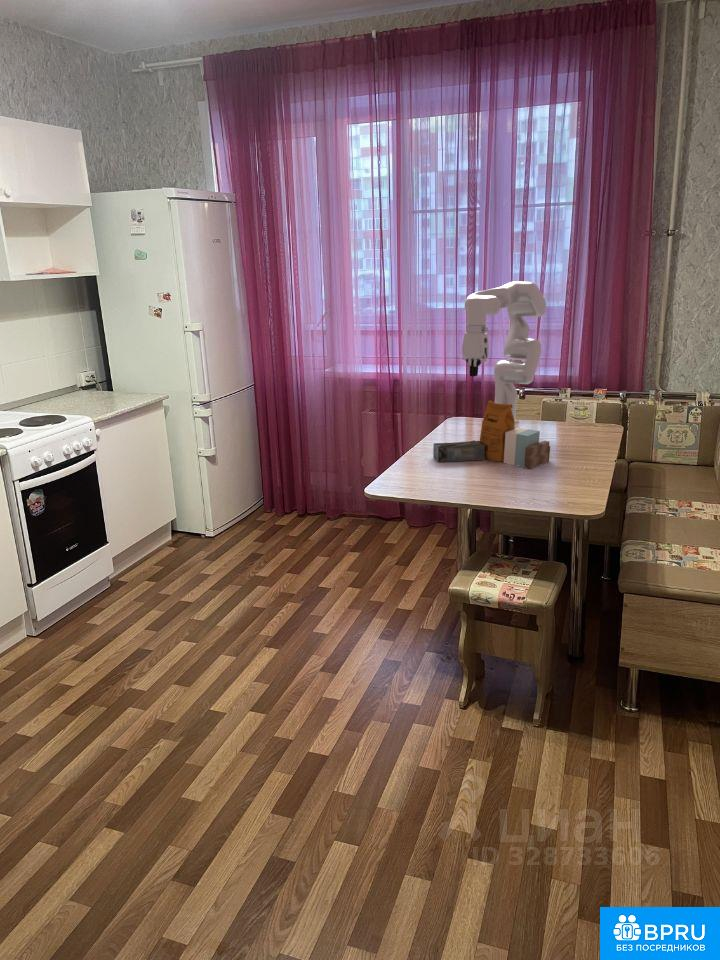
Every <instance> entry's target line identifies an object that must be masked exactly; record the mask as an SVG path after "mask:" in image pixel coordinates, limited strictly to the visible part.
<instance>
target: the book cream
mask: <svg viewBox="0 0 720 960" xmlns="http://www.w3.org/2000/svg"><path fill="white" fill-rule="evenodd" d="M515 428H516V429H513V430H510V431H508V432H506V433H505V449H504V460H503V463H504V464H505V463H509V464H508V465H511V464H513V465H512V466H516V465H515V453H516V438H517V434H518V433H521V432H523V431H526V430H528V428H522V427H515Z"/></svg>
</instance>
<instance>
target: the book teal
mask: <svg viewBox="0 0 720 960" xmlns="http://www.w3.org/2000/svg"><path fill="white" fill-rule="evenodd" d="M527 429H528V428H527ZM540 432H541V431H540V430H537V429H536V430H535V429H530V428H529V429H528V430H526V431H523V432H521V433H518V434H517V438H516V453H515V465H514V466H517V465H519V466H518V467H522V466H524V464H525V450H526V447H529V446H532V445H534V444H537V443H540V434H541V433H540Z"/></svg>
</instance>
